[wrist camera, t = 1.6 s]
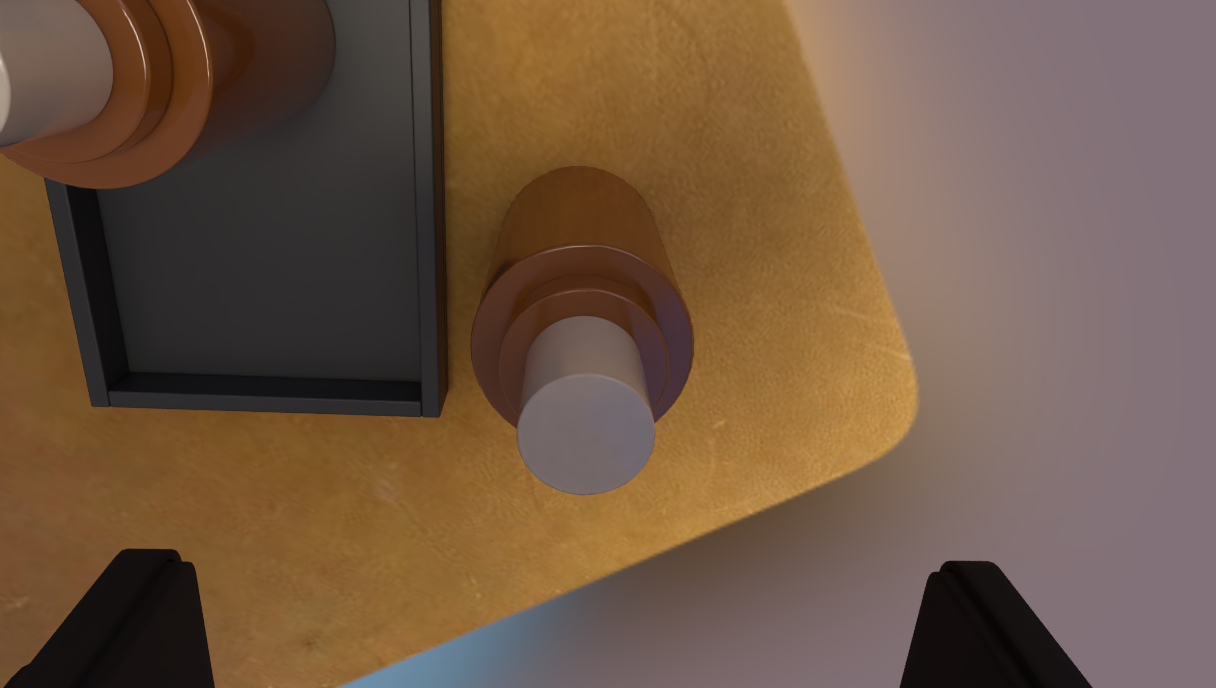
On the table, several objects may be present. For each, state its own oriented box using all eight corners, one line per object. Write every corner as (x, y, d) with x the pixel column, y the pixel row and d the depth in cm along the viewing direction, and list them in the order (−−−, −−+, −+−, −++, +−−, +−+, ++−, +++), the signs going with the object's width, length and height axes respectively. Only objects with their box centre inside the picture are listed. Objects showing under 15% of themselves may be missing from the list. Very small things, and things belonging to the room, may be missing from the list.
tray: (433, -456, 20) (418, -505, 18) (448, 390, 29) (439, 418, 27) (-43, -503, 19) (-111, -558, 17) (123, 379, 28) (90, 407, 26)
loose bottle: (663, 169, 26) (740, 312, 14) (650, 319, 28) (709, 554, 16) (501, 161, 26) (443, 299, 14) (499, 313, 28) (448, 548, 16)
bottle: (328, -60, 23) (64, -123, 11) (341, 130, 25) (130, 253, 13) (137, -73, 23) (-354, -152, 11) (165, 121, 25) (-220, 238, 13)
